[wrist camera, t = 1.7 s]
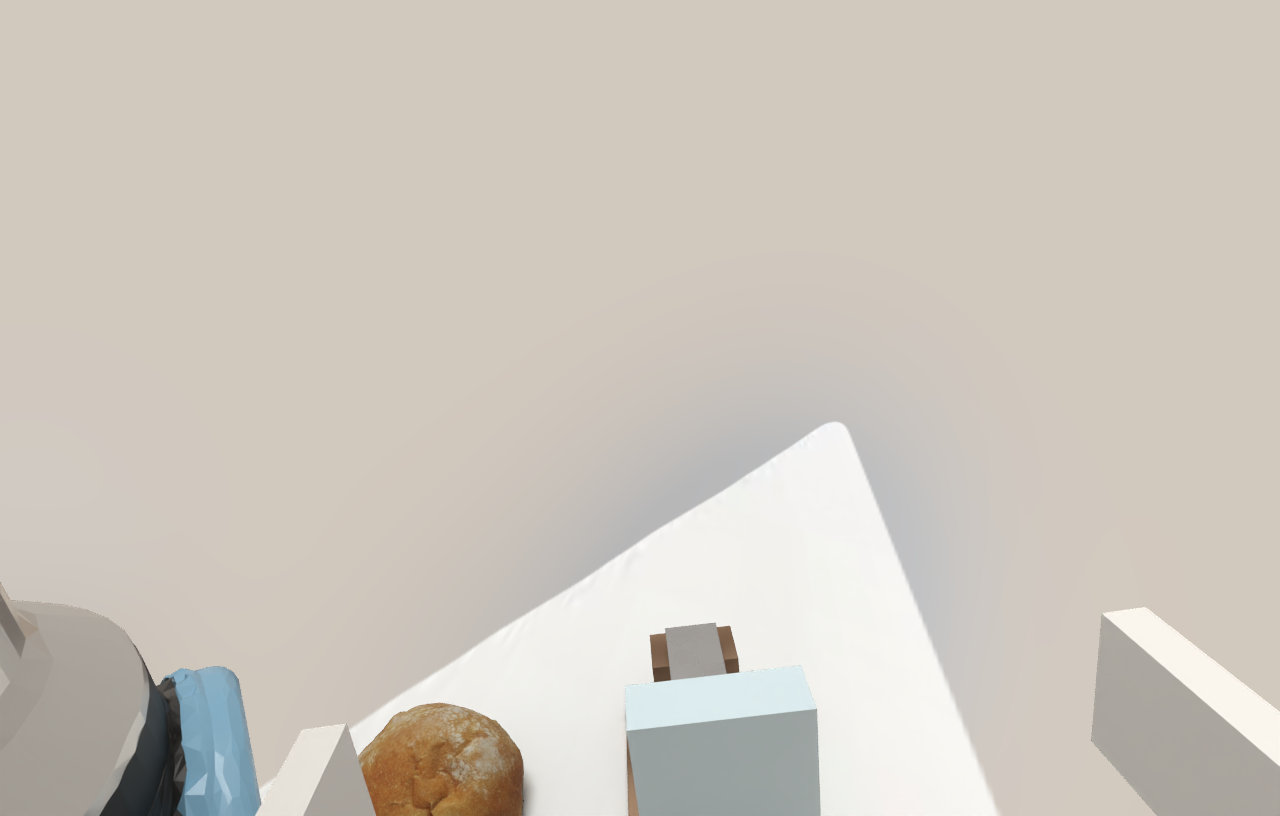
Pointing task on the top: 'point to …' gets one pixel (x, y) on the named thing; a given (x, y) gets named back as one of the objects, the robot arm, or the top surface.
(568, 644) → the top surface
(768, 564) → the top surface
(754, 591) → the top surface
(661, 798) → the slotted grey-blue plate
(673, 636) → the grey square bar
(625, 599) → the top surface
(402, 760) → the bread roll
